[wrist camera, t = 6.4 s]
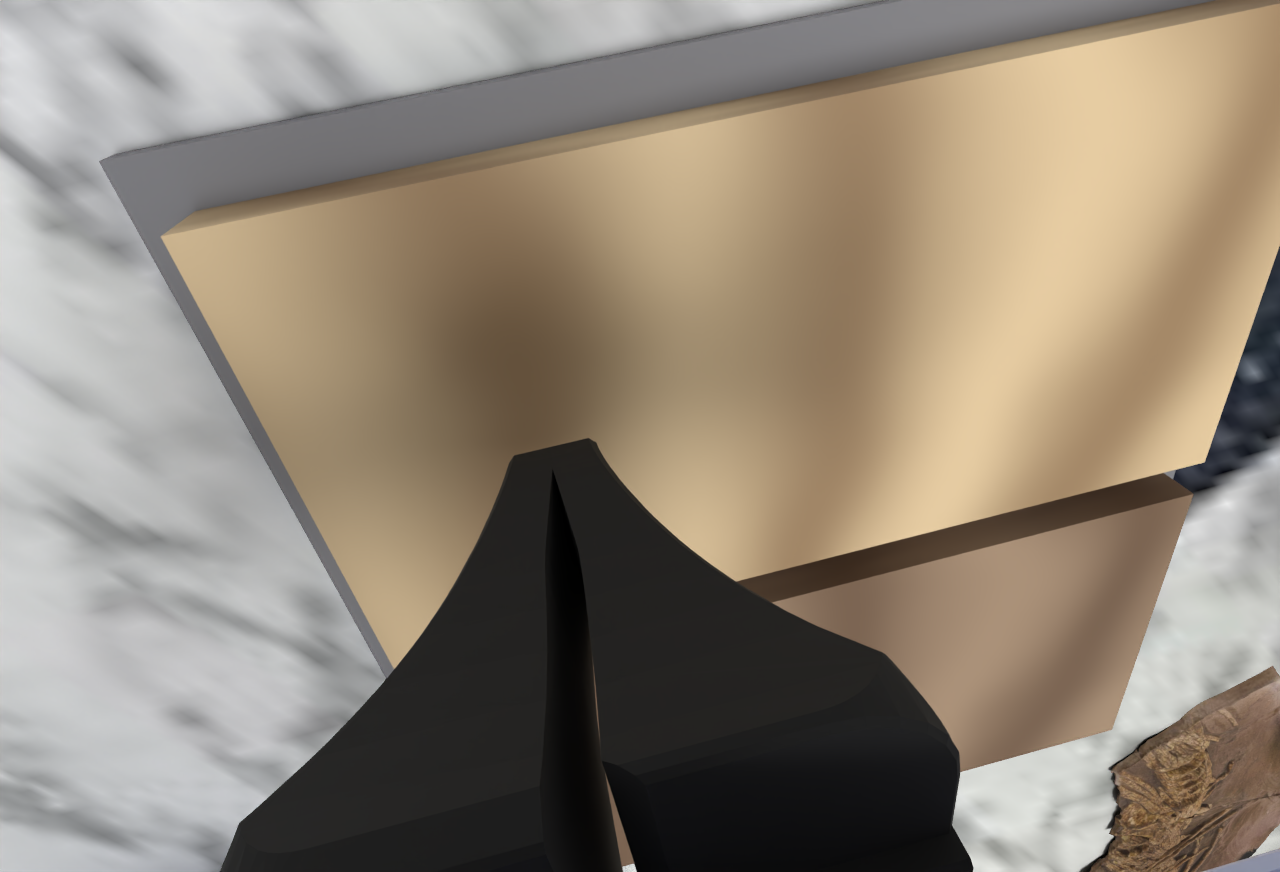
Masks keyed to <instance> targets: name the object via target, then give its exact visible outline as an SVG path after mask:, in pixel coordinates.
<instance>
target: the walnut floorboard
mask: <svg viewBox="0 0 1280 872" xmlns="http://www.w3.org/2000/svg"><path fill="white" fill-rule="evenodd" d="M1192 497H1193V493H1191V492H1190V491H1189V490H1187V489H1186V488H1184V487H1183V486H1181V485H1180V484H1179V483H1177V482H1176V481H1174V480H1173V479H1171V478H1170V477H1169V476H1167V475H1166V474H1164V473H1161V474H1157V475H1153V476H1149V477H1145V478H1141V479H1137V480H1133V481H1129V482H1125V483H1121V484H1117V485H1113V486H1109V487H1106V488H1102V489H1098V490H1094V491H1090V492H1086V493H1082V494H1078V495H1074V496H1070V497H1066V498H1062V499H1058V500H1054V501H1051V502H1047V503H1043V504H1039V505H1035V506H1031V507H1027V508H1023V509H1019V510H1015V511H1011V512H1007V513H1003V514H999V515H996V516H992V517H988V518H984V519H980V520H976V521H972V522H968V523H964V524H960V525H956V526H952V527H948V528H944V529H940V530H937V531H933V532H929V533H925V534H921V535H917V536H913V537H909V538H905V539H901V540H897V541H893V542H889V543H885V544H882V545H878V546H874V547H870V548H866V549H862V550H858V551H854V552H850V553H846V554H842V555H838V556H834V557H830V558H827V559H823V560H819V561H815V562H811V563H807V564H803V565H799V566H795V567H791V568H787V569H783V570H779V571H775V572H772V573H768V574H764V575H760V576H756V577H752V578H748V579H744V580H740V581H736V582H737V583H739V584H741V585H743V586H744V587H746V588H748V589H749V590H751V591H753V592H755V593H756V594H758V595H760V596H761V597H763V598H765V599H767V600H768V601H770V602H772V603H773V604H775V605H777V606H779V607H780V608H782V609H784V610H785V611H787V612H789V613H792V614H794V615H796V616H798V617H800V618H802V619H804V620H806V621H808V622H810V623H812V624H814V625H816V626H818V627H821V628H823V629H826V630H828V631H831V632H833V633H836V634H838V635H841V636H843V637H846V638H848V639H851V640H853V641H856V642H858V643H861V644H863V645H866V646H868V647H871V648H873V649H876V650H878V651H881V652H883V653H885V654H886V655H887V656H888V657H889V658H890V659H891V660H892V661H893V663H894V664H895V665H896V666H897V667H898V668H899V669H900V670H901V672H902V673H903V674H904V675H905V676H906V677H907V678H908V680H909V681H910V682H911V683H912V684H913V685H914V687H915V688H916V689H917V690H918V692H919V693H920V694H921V695H922V696H923V698H924V699H925V700H926V701H927V703H928V704H929V705H930V706H931V708H932V709H933V710H934V712H935V713H936V715H937V716H938V717H939V719H940V720H941V722H942V723H943V725H944V726H945V728H946V730H947V731H948V733H949V735H950V737H951V739H952V741H953V743H954V744H955V746H956V748H957V749H958V751H959V755H960V772H962V771H966V770H969V769H973V768H977V767H980V766H984V765H987V764H991V763H994V762H998V761H1002V760H1005V759H1009V758H1012V757H1016V756H1019V755H1023V754H1027V753H1030V752H1034V751H1037V750H1041V749H1044V748H1048V747H1052V746H1055V745H1059V744H1062V743H1066V742H1069V741H1073V740H1077V739H1080V738H1084V737H1087V736H1091V735H1095V734H1098V733H1102V732H1105V731H1109V730H1112V728H1113V725H1114V722H1115V719H1116V716H1117V713H1118V710H1119V708H1120V705H1121V702H1122V699H1123V696H1124V693H1125V690H1126V687H1127V684H1128V682H1129V679H1130V676H1131V673H1132V670H1133V667H1134V664H1135V661H1136V659H1137V656H1138V653H1139V650H1140V647H1141V644H1142V641H1143V638H1144V635H1145V633H1146V630H1147V627H1148V624H1149V621H1150V618H1151V615H1152V612H1153V610H1154V607H1155V604H1156V601H1157V598H1158V595H1159V592H1160V589H1161V586H1162V584H1163V581H1164V578H1165V575H1166V572H1167V569H1168V566H1169V563H1170V561H1171V558H1172V555H1173V552H1174V549H1175V546H1176V543H1177V540H1178V537H1179V535H1180V532H1181V529H1182V526H1183V523H1184V520H1185V517H1186V514H1187V512H1188V509H1189V506H1190V503H1191V500H1192ZM592 658H593V657H592ZM593 672H594V666H593ZM594 685H595V676H594ZM595 698H596V712H597V721H598V710H597V697H596V685H595ZM598 730H599V722H598ZM599 738H600V734H599ZM605 774H606V773H605ZM606 780H607V777H606ZM607 786H608V792H609V797H610V803H611V809H612V814H613V820H614V825H615V831H616V837H617V842H618V848H619V853H620V859H621V864H622V867H623V866H626V865H630V864H633V863H634V861H633V858H632V854H631V851H630V848H629V845H628V842H627V839H626V836H625V833H624V830H623V826H622V823H621V820H620V817H619V814H618V811H617V808H616V805H615V801H614V798H613V795H612V792H611V789H610V786H609V783H608V780H607Z"/></svg>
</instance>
